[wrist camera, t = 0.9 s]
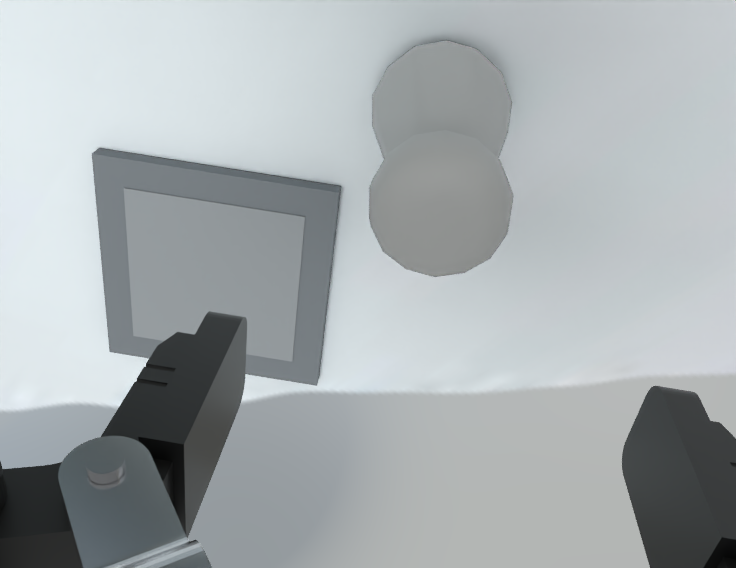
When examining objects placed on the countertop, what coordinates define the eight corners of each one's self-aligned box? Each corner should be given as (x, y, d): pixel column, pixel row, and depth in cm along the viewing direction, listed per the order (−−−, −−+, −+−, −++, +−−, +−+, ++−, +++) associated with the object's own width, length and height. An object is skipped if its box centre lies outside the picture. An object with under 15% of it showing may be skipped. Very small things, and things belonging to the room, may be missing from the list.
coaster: (340, 186, 33) (338, 193, 32) (318, 376, 39) (316, 386, 39) (99, 147, 33) (90, 154, 33) (115, 343, 40) (109, 352, 39)
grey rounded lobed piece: (462, 180, 32) (471, 339, 21) (355, 123, 32) (306, 258, 20) (532, 69, 30) (585, 187, 18) (416, 3, 29) (398, 86, 18)
